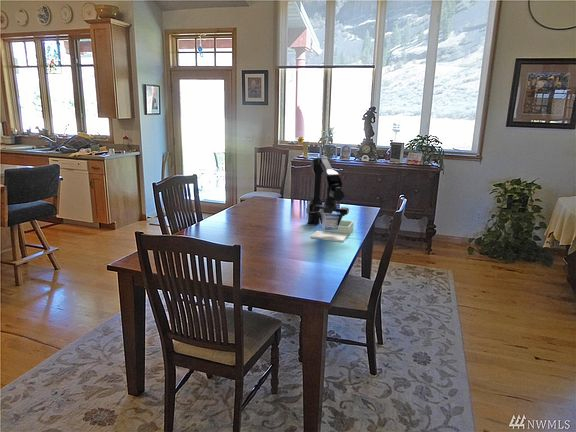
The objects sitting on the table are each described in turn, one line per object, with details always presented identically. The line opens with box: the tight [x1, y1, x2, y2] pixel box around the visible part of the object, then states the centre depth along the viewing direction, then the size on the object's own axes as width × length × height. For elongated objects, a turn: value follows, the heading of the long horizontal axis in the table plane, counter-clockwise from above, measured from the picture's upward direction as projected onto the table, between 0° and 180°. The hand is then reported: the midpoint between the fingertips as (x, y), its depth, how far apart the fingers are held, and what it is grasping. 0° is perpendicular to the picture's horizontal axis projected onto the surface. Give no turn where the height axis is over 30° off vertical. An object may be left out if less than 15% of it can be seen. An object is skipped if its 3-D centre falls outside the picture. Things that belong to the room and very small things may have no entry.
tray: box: [310, 230, 349, 243], centre depth 224 cm, size 18×11×1 cm, turn 70°
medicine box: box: [321, 212, 340, 230], centre depth 222 cm, size 8×4×9 cm, turn 105°
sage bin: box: [322, 219, 355, 237], centre depth 234 cm, size 15×14×5 cm
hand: (330, 224), depth 222 cm, fingers closed on medicine box, 9 cm apart
